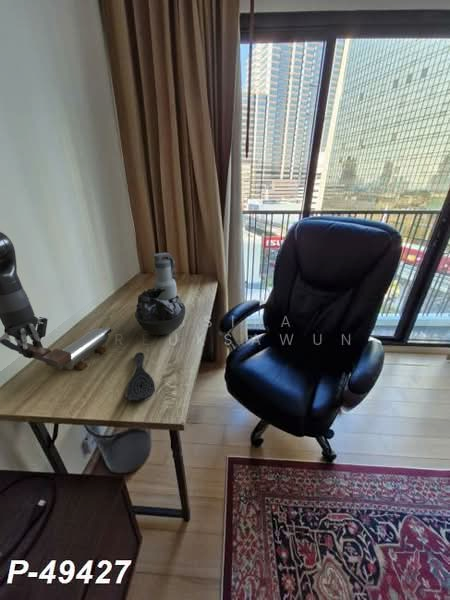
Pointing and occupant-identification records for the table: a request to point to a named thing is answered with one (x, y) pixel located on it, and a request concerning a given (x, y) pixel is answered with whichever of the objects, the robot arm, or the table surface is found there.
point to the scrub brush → (50, 356)
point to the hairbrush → (140, 382)
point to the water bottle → (165, 275)
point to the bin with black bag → (159, 312)
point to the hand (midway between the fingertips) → (34, 354)
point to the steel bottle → (87, 347)
